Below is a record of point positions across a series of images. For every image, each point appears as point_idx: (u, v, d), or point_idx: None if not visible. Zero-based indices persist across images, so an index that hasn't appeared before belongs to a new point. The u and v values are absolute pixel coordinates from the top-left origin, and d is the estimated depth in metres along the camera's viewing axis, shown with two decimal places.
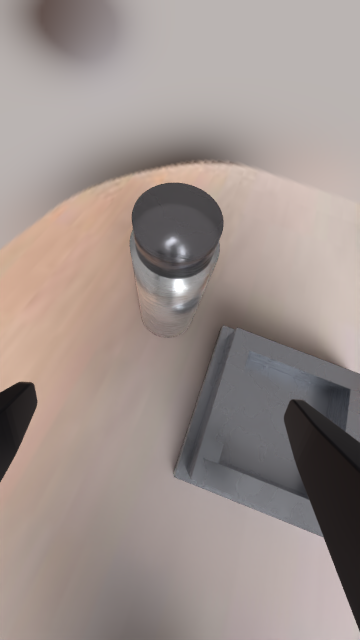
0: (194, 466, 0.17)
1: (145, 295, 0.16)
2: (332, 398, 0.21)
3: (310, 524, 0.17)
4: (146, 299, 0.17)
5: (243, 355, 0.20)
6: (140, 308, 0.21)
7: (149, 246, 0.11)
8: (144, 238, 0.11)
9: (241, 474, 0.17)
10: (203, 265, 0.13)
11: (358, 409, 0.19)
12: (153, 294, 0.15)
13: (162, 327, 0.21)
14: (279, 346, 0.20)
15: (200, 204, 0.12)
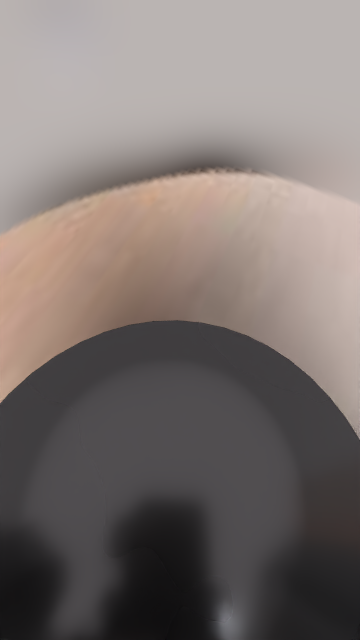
0: None
1: None
2: None
3: None
4: None
5: None
6: None
7: None
8: None
9: None
10: None
11: None
12: None
13: None
14: None
15: (277, 435, 0.03)
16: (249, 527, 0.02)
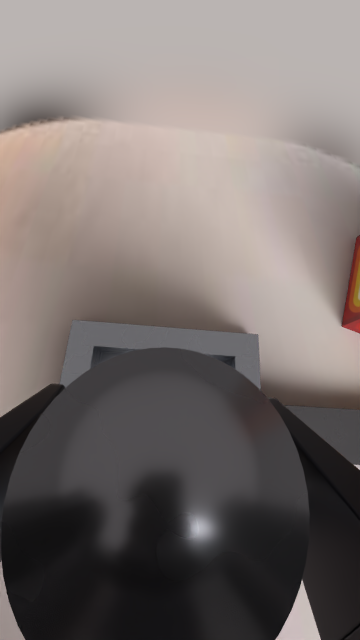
0: None
1: None
2: None
3: None
4: None
5: (85, 354, 0.14)
6: None
7: None
8: (35, 619, 0.03)
9: None
10: None
11: None
12: None
13: None
14: (134, 328, 0.15)
15: (230, 425, 0.04)
16: (210, 483, 0.04)
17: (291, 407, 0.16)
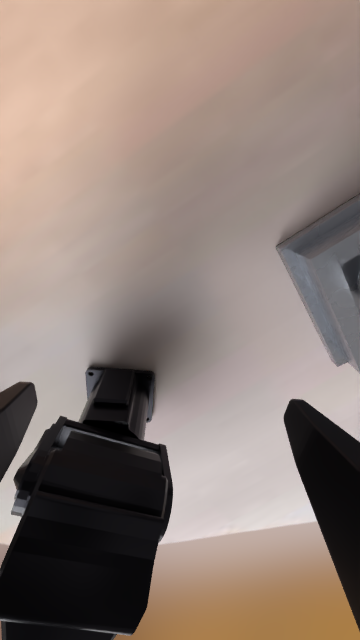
0: (320, 252, 0.16)
1: None
2: None
3: (352, 348, 0.19)
4: None
5: None
6: None
7: None
8: None
9: (347, 286, 0.17)
10: None
11: None
12: None
13: None
14: None
15: None
16: None
17: None
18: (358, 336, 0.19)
